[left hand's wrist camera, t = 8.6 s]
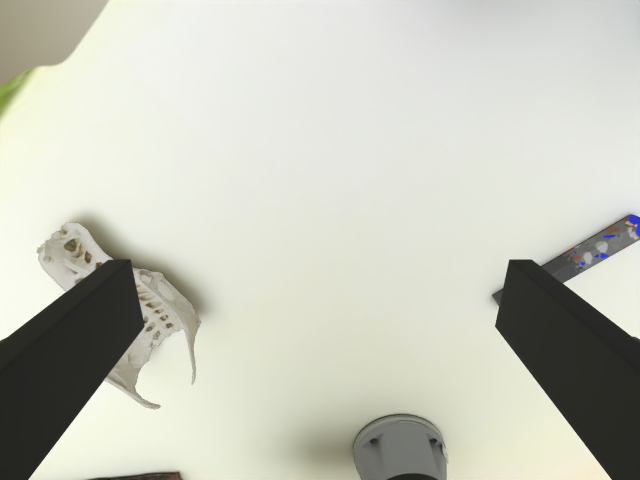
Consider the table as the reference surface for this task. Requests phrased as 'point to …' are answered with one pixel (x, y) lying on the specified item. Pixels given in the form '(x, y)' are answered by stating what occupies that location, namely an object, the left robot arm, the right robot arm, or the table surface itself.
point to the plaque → (152, 477)
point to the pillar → (592, 251)
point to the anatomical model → (153, 291)
